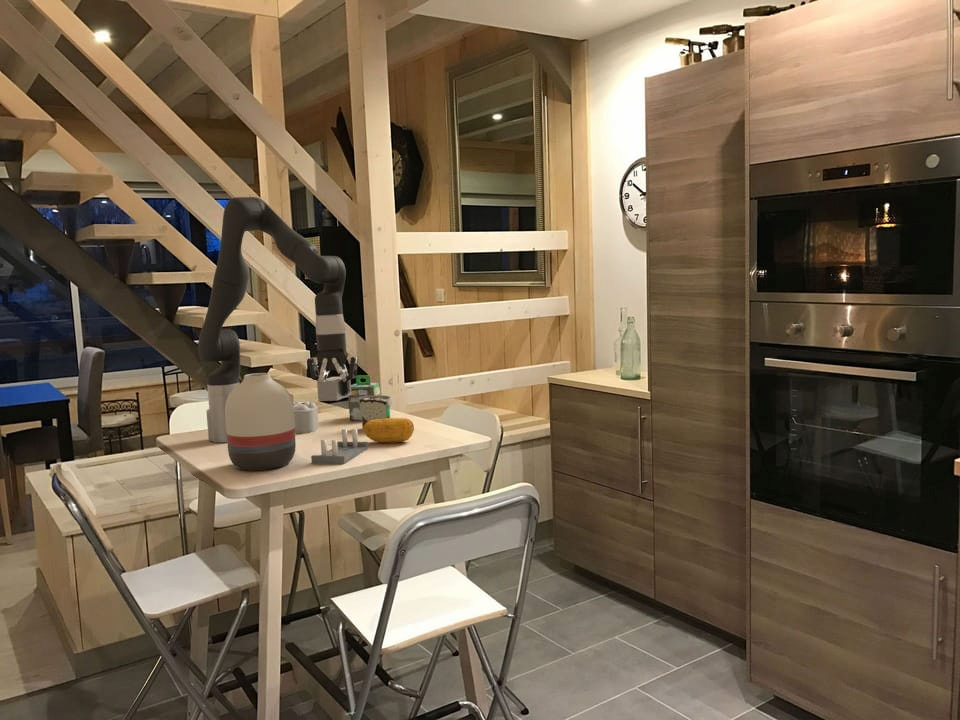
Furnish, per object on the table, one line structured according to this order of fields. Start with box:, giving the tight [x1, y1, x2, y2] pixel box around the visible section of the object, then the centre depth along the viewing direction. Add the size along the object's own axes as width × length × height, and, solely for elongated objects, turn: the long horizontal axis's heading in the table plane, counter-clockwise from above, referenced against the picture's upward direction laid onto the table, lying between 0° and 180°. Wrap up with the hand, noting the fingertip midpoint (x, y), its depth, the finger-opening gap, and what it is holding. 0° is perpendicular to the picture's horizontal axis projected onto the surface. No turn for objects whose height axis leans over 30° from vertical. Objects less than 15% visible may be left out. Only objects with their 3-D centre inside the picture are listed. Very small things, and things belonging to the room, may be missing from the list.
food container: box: [358, 394, 394, 430], centre depth 243 cm, size 12×6×10 cm, turn 58°
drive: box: [316, 376, 352, 402], centre depth 205 cm, size 5×10×5 cm, turn 168°
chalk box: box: [347, 374, 381, 421], centre depth 261 cm, size 9×9×15 cm
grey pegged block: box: [310, 428, 369, 465], centre depth 207 cm, size 9×17×6 cm, turn 168°
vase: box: [225, 372, 297, 471], centre depth 199 cm, size 17×17×24 cm
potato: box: [363, 417, 415, 444], centre depth 222 cm, size 7×14×7 cm, turn 81°
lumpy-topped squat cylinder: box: [293, 400, 320, 434], centre depth 245 cm, size 10×13×9 cm
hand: (335, 395), depth 205 cm, fingers closed on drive, 5 cm apart
